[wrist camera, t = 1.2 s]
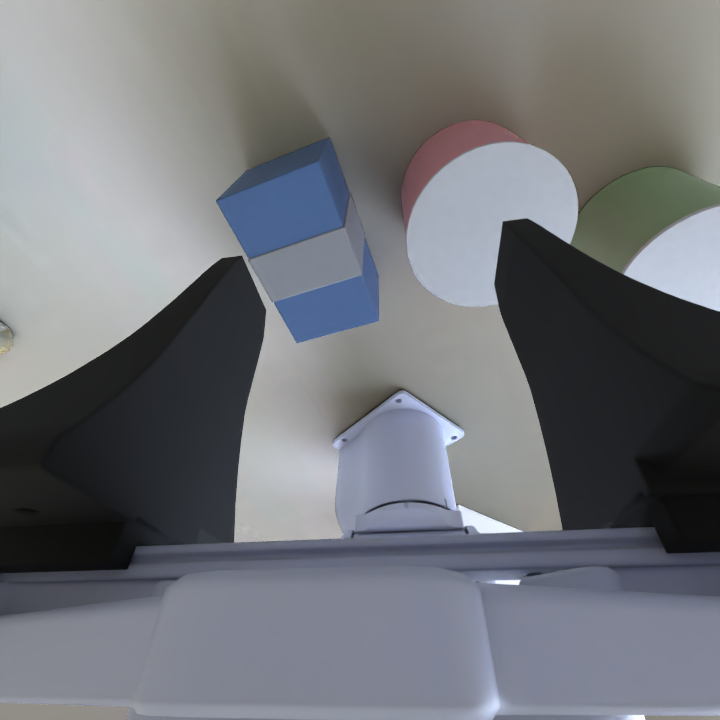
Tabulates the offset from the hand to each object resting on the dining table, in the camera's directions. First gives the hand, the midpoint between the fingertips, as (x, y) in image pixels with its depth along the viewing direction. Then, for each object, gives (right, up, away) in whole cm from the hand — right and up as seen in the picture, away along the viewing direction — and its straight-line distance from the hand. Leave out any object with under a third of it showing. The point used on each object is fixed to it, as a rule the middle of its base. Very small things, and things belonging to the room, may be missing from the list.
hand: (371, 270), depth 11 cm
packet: (-3, +5, +12) cm, 13 cm away
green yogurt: (+16, +5, +11) cm, 20 cm away
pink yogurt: (+5, +7, +10) cm, 14 cm away
